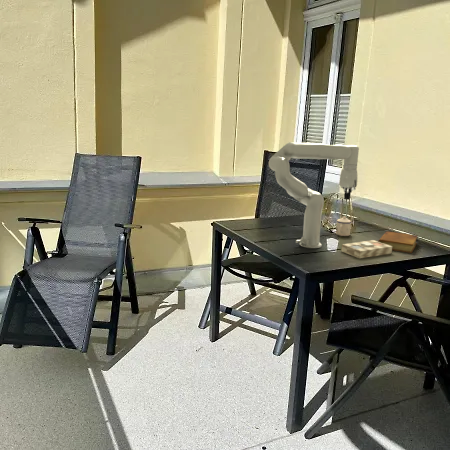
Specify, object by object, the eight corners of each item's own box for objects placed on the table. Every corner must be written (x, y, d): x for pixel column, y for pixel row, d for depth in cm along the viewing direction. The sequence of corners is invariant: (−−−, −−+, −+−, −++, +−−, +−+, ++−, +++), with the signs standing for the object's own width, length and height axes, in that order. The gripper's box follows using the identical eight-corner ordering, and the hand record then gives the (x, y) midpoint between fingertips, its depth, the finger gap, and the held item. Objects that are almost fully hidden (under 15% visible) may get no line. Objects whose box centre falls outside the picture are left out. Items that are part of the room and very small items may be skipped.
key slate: (356, 253, 240) (356, 248, 239) (349, 250, 244) (350, 246, 243) (363, 252, 242) (363, 247, 242) (356, 249, 246) (357, 245, 246)
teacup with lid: (337, 231, 291) (339, 214, 288) (351, 234, 286) (353, 216, 283) (332, 235, 280) (333, 217, 278) (346, 237, 276) (348, 219, 273)
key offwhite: (366, 249, 243) (367, 245, 242) (360, 247, 247) (360, 242, 247) (373, 248, 245) (374, 244, 245) (366, 246, 250) (367, 242, 249)
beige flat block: (359, 258, 235) (360, 251, 234) (341, 251, 247) (342, 244, 246) (391, 253, 246) (392, 246, 245) (372, 246, 258) (373, 240, 257)
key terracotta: (376, 250, 247) (377, 246, 246) (369, 247, 251) (370, 243, 250) (383, 249, 249) (383, 245, 248) (376, 246, 253) (376, 242, 253)
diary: (384, 240, 277) (385, 231, 275) (416, 244, 268) (417, 235, 266) (377, 248, 257) (378, 238, 256) (411, 253, 248) (413, 243, 247)
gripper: (336, 166, 256) (333, 197, 260) (354, 168, 243) (351, 201, 247) (345, 165, 259) (342, 196, 264) (364, 168, 246) (361, 201, 251)
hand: (347, 199), depth 255 cm, fingers closed
